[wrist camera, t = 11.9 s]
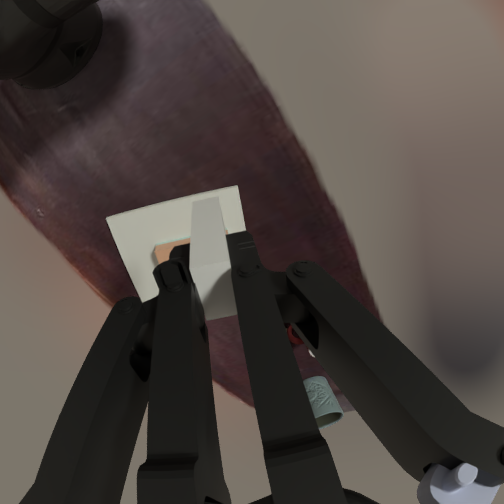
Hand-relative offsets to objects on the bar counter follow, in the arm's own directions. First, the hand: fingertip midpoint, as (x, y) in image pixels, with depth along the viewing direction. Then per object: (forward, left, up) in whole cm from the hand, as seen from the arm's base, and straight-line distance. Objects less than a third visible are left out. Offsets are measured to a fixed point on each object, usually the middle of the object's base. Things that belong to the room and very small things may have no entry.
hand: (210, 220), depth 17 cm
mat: (+17, -7, -24) cm, 30 cm away
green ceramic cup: (+64, +13, -25) cm, 70 cm away
